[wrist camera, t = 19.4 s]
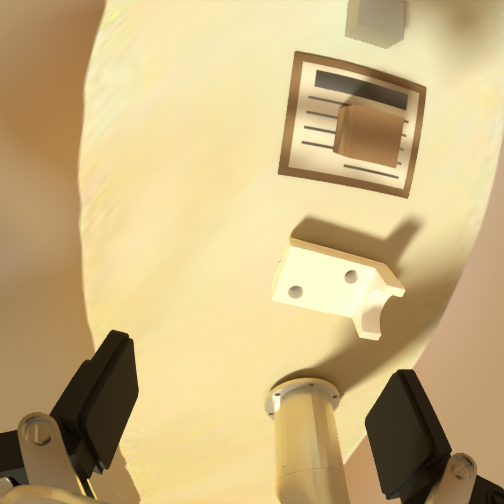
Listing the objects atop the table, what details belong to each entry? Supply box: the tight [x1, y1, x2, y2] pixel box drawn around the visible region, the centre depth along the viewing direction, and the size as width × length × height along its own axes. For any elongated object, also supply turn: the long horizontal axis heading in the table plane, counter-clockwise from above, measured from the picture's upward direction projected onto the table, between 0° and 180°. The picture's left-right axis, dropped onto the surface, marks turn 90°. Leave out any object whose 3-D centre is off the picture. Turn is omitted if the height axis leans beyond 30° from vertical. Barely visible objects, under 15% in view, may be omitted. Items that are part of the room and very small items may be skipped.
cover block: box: [345, 0, 405, 49], centre depth 22 cm, size 5×5×5 cm
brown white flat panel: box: [278, 52, 426, 199], centre depth 29 cm, size 14×16×1 cm
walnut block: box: [333, 104, 404, 168], centre depth 27 cm, size 5×5×6 cm
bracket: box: [271, 237, 405, 341], centre depth 34 cm, size 13×7×8 cm, turn 75°
